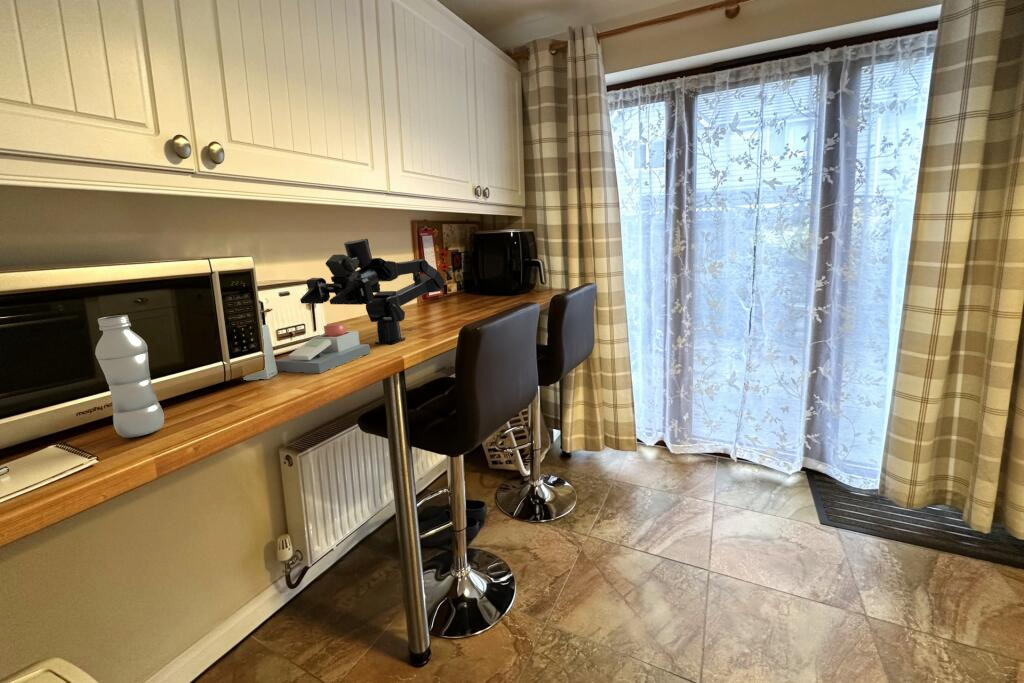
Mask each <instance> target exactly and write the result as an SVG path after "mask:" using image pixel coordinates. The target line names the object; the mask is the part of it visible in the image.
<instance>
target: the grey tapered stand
mask: <svg viewBox="0 0 1024 683" xmlns="http://www.w3.org/2000/svg"><path fill="white" fill-rule="evenodd" d="M262 328H263V339H264V355H265V368H264V370H262V371H260V372H256V373H254V374H250V375H248V376H245V377H243V376H242V378H243V381H244V380H246V381H259V379H264V380H269V379H271V378H273V377H275V376H277V375H278V372H279V371H277V367H276V362H275V360H276V358H275V353H274V348H273V344H272V337H271V333H270V328H269V325H268V324H262Z"/></svg>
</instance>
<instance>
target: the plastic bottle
mask: <svg viewBox="0 0 1024 683" xmlns="http://www.w3.org/2000/svg"><path fill="white" fill-rule="evenodd" d="M97 323H98V325H99V328H98V329H99V331H102V335H101V337H100V339H99V340H98V343H97V344H96V347H95V352H94V354H95V357H96V359H97V361H98V364H99V366H100V368H101V370H102V372H103V374H104V377H105V381H106V382H107V385H108V389H109V391H110V397H111V403H112V404H111V405H112V410H113V413H112V420H113V421H112V422H113V427H114V429H115V431H116V433H117V435H119V436H121V437H122V438H126V439H127V438H128V439H129V438H137V437H141V436H142V437H143V436H146V435H148V434H152V433H154V432H157V431H158V430H161V428H163V425H164V423H165V414H164V411H163V408H162V406H161V405H160V402H159V400H158V397H157V394H156V393H155V392H156V391H155V389H154V386H153V384H152V378H151V372H150V367H149V365H150V364H149V352H148V350H149V349H148V344H147V343H146V341H145V339H143V338H142V337H141V336H140V335H138V334H137V333H135V332H134V331H133V330H132V329H130V327H132V324H131V322H130V319H129V316H128V314H120V315H111V316H104V317H100V318H97Z"/></svg>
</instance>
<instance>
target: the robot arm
mask: <svg viewBox="0 0 1024 683" xmlns="http://www.w3.org/2000/svg"><path fill="white" fill-rule="evenodd" d="M343 246H344V249H345V252H346V254H344V253H343V254H333V255H331V256H330V257H329V259H327V260H326V261H325V266H326V267H327V268H328V270H329V271H330V273H331V274H332V275H333V276H330V279H331V282H332V283H330V282H329V283H328V282H327V281H326V279H325V278H323V277H311V278H309V279H306V286H307V291H306V292H305V294H303V296H302V297H300V299H299V301H300V303H301V304H316V305H317V304H320V305H321V304H324V303H328V302H329V304H330V305H347V306H348V305H351V306H353V305H354V306H355V305H356V306H357V305H361V306H363V305H365V310H366V313H367V315H368V317H369V320H370V322H371V323H376V326H377V327H376V331H377V339H378V340H376V341H374V343H375V345H376V344H377V345H378V344H379V345H380V344H383V345H394V344H397V343H399V342H402V341H404V340H406V337H405V336H404V337H402V335H401V334H402V333H401V326H400V322H402V321H404V320H405V317H406V316H405V315H406V312H405V310H404V309H403V308H402V306H404V305H406V304H407V303H411V302H412V301H413V300H416V299H417V298H420V297H422V296H423V295H425V294H430V293H437V292H441V291H442V290H443V289H444V286H445V279H444V277H443V275H442V274H441V273H440V271H438V269H436V268H434V267H433V266H432V265H430V264H429V262H428V261H427V260H426V259H423V258H421V259H420V258H419V259H418V258H417V259H412V260H408V261H399V262H396V261H392V260H384V259H383V258H382V257H374V258H373V257H372V256H373V255H372V253H371V248H370V244H369V239H368V238H361V239H356V240H349V241H346V242H344V243H343ZM358 268H359V269H358ZM421 273H423V274H421ZM409 274H410V275H411V274H412V280H413V281H414V282H413V283H410V284H409V285H407V286H404V287H403V288H400V289H398V290H397V291H396V290H395V291H394V290H390V291H389V290H385V291H384V290H381V288H380V287H381V284H380V283H384V282H392V281H395V280H396V279H398V278H399V276H403V275H409ZM331 294H335V295H334V296H332V297H331ZM330 297H331V298H330Z"/></svg>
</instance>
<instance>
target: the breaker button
mask: <svg viewBox="0 0 1024 683" xmlns="http://www.w3.org/2000/svg"><path fill="white" fill-rule="evenodd" d="M323 330H324V334H325V337H338V336H341V335H344V334H346V333H345V331H346V327H345V324H344V323H331V324H326V325H324V326H323Z"/></svg>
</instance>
